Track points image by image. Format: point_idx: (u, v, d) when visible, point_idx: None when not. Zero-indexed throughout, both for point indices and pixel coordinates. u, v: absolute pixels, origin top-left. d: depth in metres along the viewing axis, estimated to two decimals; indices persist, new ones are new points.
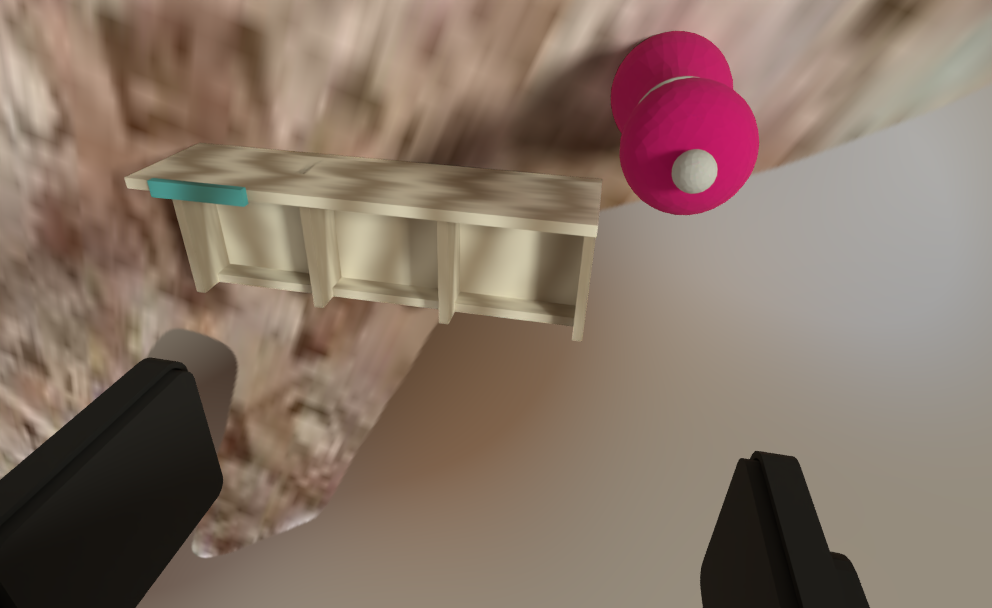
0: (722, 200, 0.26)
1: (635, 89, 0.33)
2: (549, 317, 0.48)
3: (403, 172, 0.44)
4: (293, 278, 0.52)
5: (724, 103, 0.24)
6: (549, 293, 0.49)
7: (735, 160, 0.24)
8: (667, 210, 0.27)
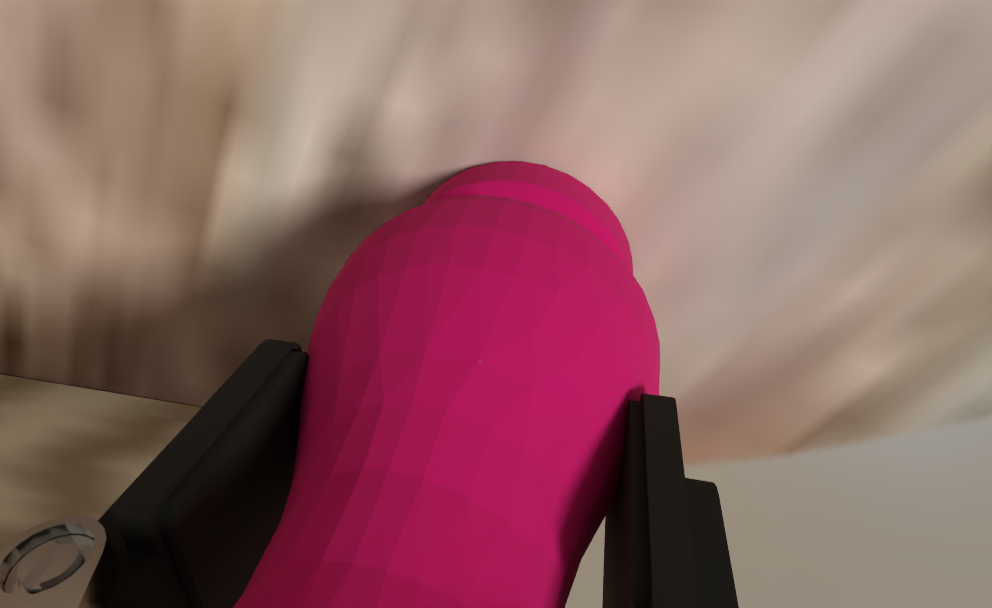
0: None
1: (303, 428, 0.09)
2: None
3: None
4: None
5: None
6: None
7: None
8: None
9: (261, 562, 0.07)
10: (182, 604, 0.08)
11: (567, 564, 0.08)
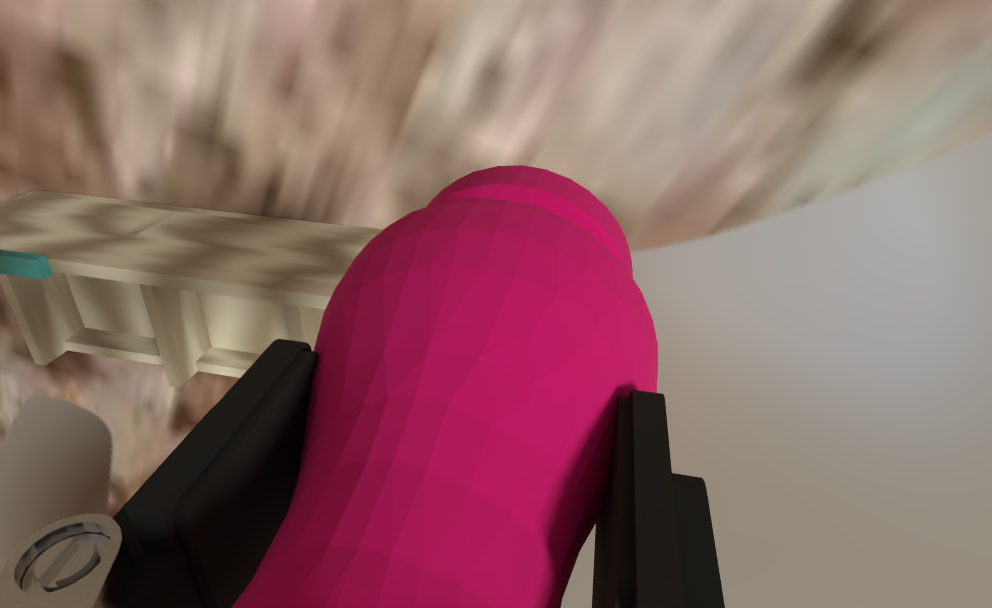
0: None
1: (310, 423, 0.10)
2: None
3: (261, 233, 0.36)
4: (153, 348, 0.44)
5: None
6: None
7: None
8: None
9: (269, 550, 0.07)
10: (195, 603, 0.08)
11: (564, 555, 0.08)
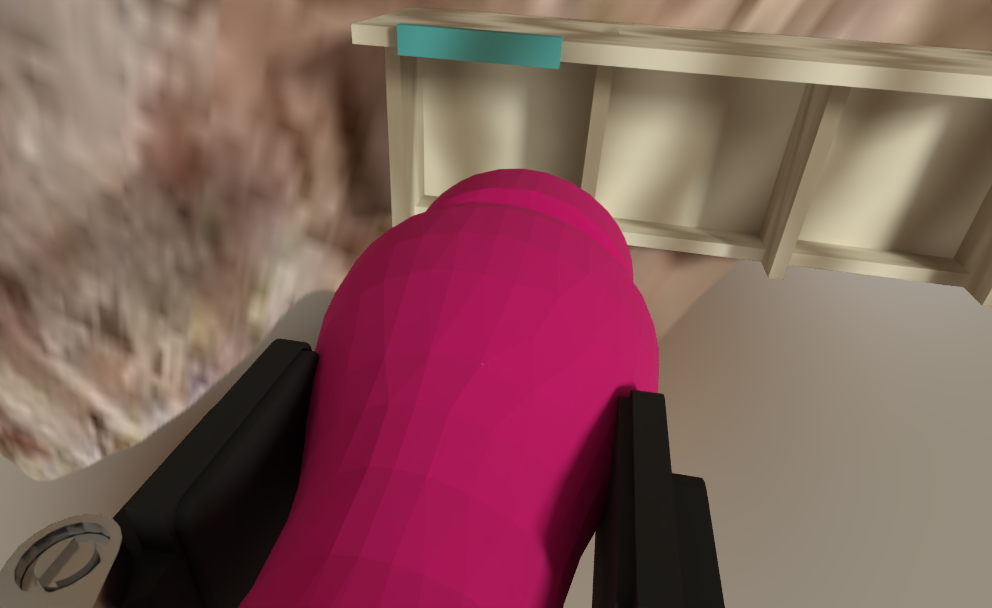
0: None
1: (310, 428, 0.10)
2: (928, 273, 0.33)
3: (761, 39, 0.29)
4: None
5: None
6: (917, 239, 0.34)
7: None
8: None
9: (270, 557, 0.07)
10: (195, 603, 0.08)
11: (565, 561, 0.08)
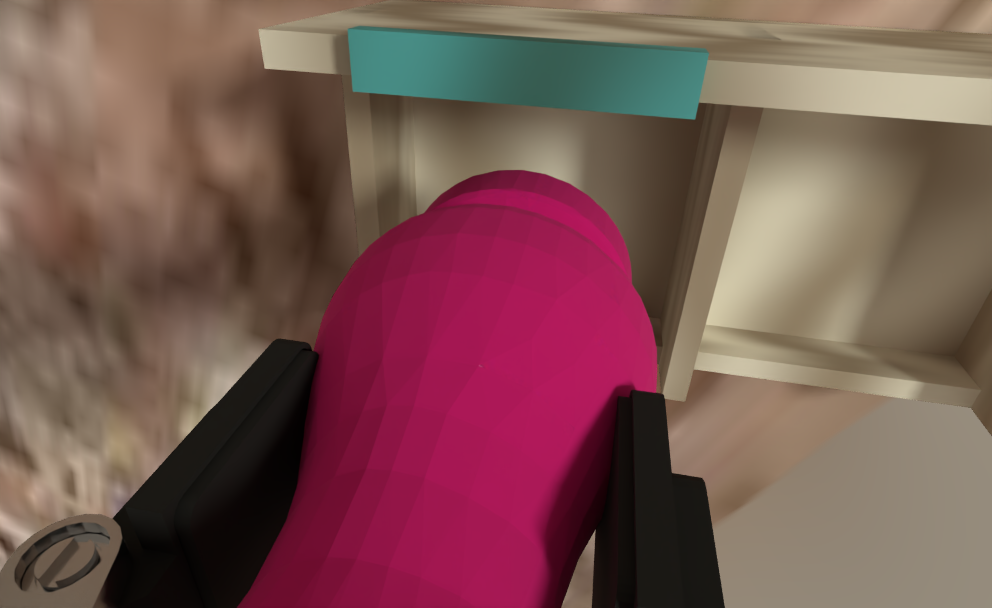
0: None
1: (308, 430, 0.10)
2: None
3: None
4: None
5: None
6: None
7: None
8: None
9: (268, 559, 0.07)
10: (195, 603, 0.08)
11: (562, 563, 0.08)
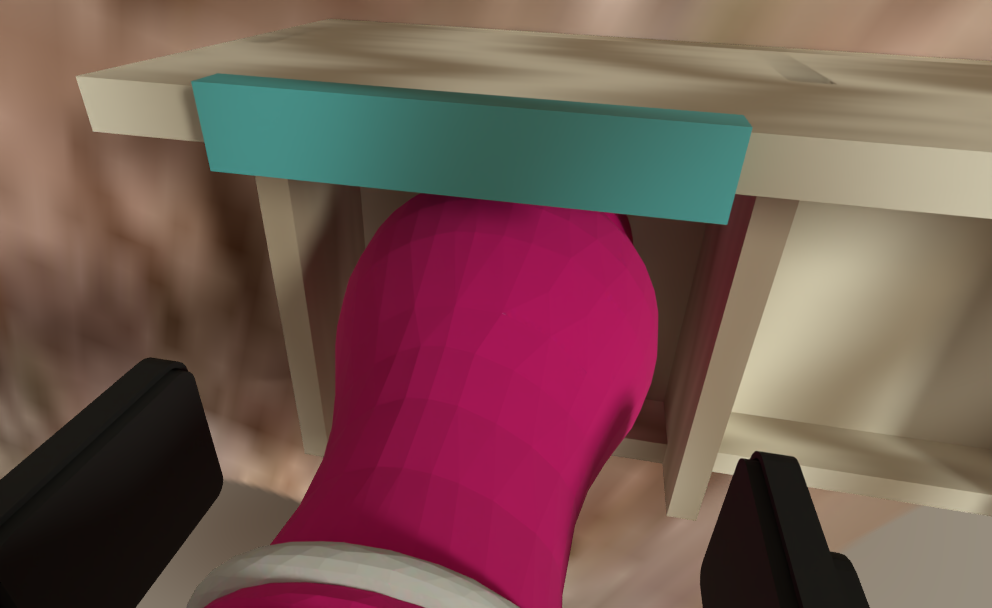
0: None
1: (342, 375, 0.11)
2: None
3: None
4: None
5: None
6: None
7: None
8: None
9: (317, 476, 0.08)
10: None
11: (577, 487, 0.09)
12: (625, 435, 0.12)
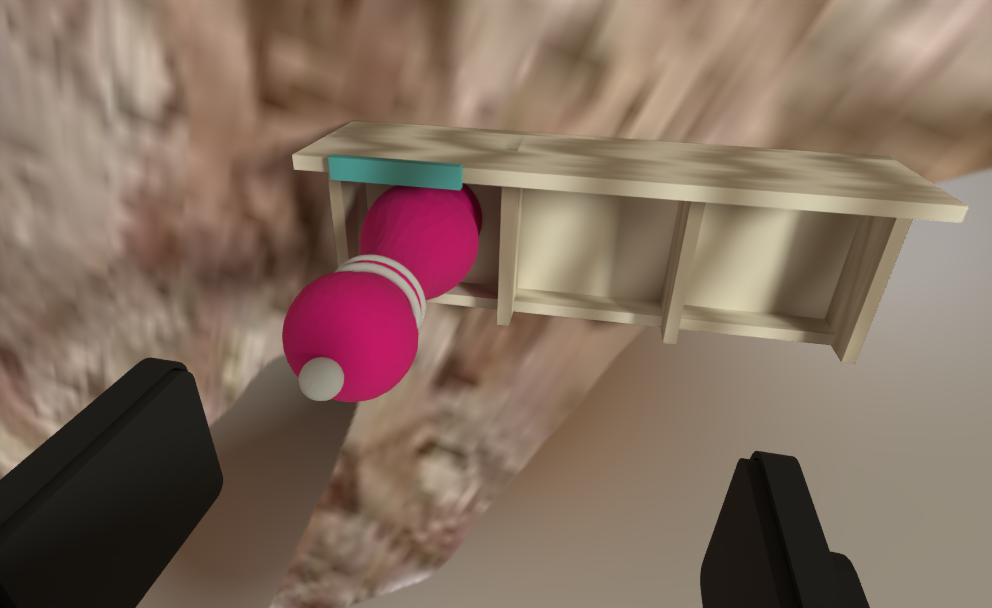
0: (377, 393, 0.26)
1: (363, 245, 0.33)
2: (800, 334, 0.38)
3: (638, 149, 0.34)
4: (459, 289, 0.42)
5: (355, 309, 0.24)
6: (792, 304, 0.39)
7: (370, 364, 0.24)
8: None
9: None
10: None
11: (432, 267, 0.32)
12: (459, 268, 0.35)
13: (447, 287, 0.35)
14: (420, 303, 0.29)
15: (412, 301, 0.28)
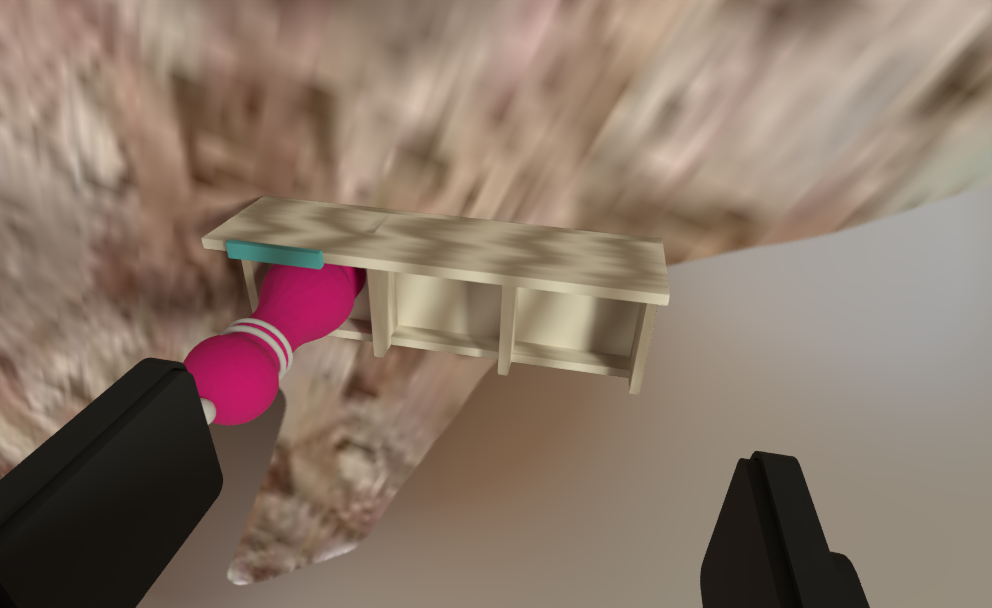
0: (245, 420, 0.37)
1: (259, 301, 0.45)
2: (605, 369, 0.49)
3: (469, 231, 0.45)
4: (351, 326, 0.53)
5: (223, 365, 0.36)
6: (604, 344, 0.50)
7: (234, 402, 0.36)
8: None
9: None
10: None
11: (304, 322, 0.43)
12: (333, 319, 0.46)
13: (325, 332, 0.46)
14: (286, 353, 0.40)
15: (278, 353, 0.39)
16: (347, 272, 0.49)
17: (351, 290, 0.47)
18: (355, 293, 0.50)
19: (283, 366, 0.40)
